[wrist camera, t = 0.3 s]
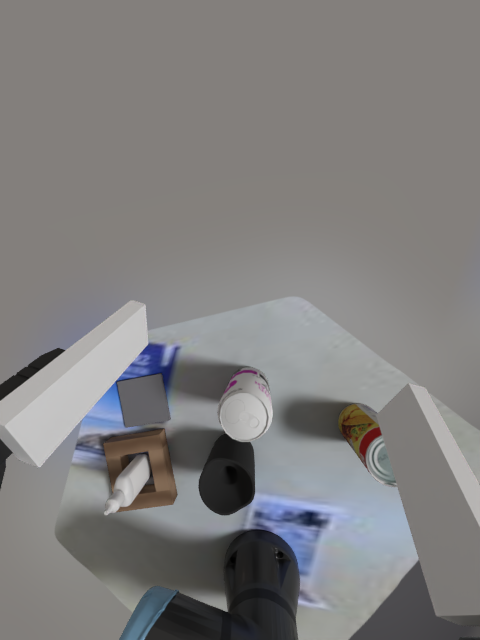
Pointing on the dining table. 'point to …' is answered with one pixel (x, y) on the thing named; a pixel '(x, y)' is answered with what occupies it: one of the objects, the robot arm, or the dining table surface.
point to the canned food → (367, 441)
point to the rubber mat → (143, 400)
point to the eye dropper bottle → (129, 483)
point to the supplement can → (246, 405)
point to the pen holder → (228, 476)
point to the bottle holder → (160, 464)
